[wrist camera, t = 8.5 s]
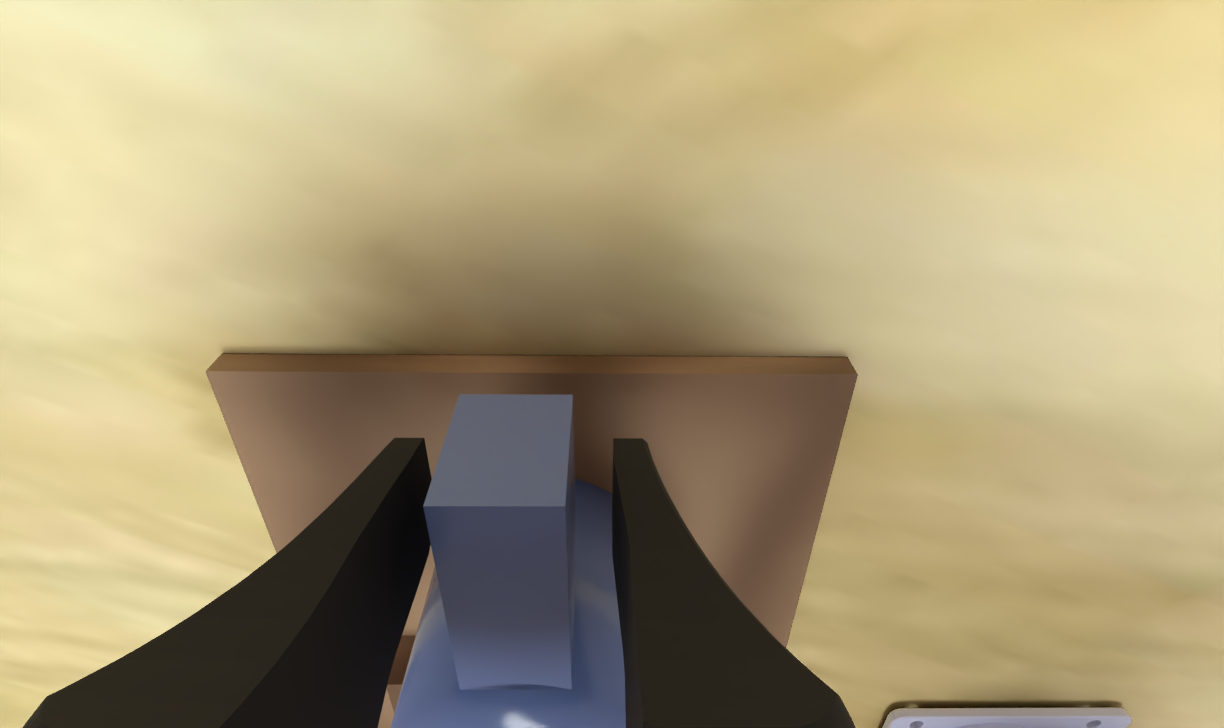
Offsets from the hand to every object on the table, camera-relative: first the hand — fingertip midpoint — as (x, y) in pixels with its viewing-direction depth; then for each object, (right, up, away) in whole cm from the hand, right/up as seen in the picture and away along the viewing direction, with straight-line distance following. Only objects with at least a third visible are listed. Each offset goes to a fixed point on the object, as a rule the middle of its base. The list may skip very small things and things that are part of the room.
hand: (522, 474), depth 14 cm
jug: (0, -2, +5) cm, 5 cm away
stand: (0, -7, +9) cm, 11 cm away
